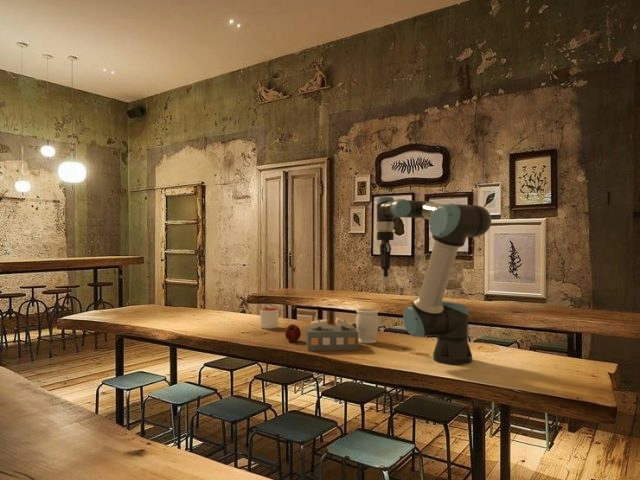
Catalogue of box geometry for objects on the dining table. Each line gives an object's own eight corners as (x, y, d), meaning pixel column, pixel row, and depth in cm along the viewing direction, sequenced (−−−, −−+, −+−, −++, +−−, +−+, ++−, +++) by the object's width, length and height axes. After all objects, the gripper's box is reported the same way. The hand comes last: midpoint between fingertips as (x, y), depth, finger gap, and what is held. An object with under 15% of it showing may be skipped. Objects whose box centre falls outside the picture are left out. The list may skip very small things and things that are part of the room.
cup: (282, 327, 261) (282, 309, 261) (270, 330, 252) (270, 311, 252) (267, 325, 266) (268, 307, 266) (256, 328, 257) (256, 309, 257)
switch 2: (350, 329, 211) (352, 324, 211) (336, 323, 210) (338, 318, 210) (349, 327, 216) (351, 322, 216) (334, 321, 215) (336, 316, 215)
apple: (282, 342, 222) (282, 325, 222) (289, 339, 229) (289, 322, 229) (296, 343, 219) (296, 326, 219) (303, 340, 226) (303, 323, 226)
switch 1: (327, 325, 210) (326, 319, 210) (312, 328, 209) (311, 322, 209) (326, 323, 215) (325, 318, 215) (311, 326, 214) (310, 320, 214)
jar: (382, 341, 223) (383, 310, 223) (369, 345, 216) (369, 312, 216) (365, 338, 230) (365, 307, 230) (351, 341, 223) (351, 310, 223)
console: (358, 350, 206) (358, 329, 206) (307, 350, 204) (307, 329, 204) (353, 343, 220) (353, 323, 220) (306, 343, 219) (306, 323, 219)
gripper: (396, 231, 206) (396, 285, 206) (390, 231, 219) (389, 282, 219) (380, 231, 206) (379, 285, 206) (374, 231, 219) (374, 282, 219)
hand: (385, 283), depth 213 cm, fingers closed
